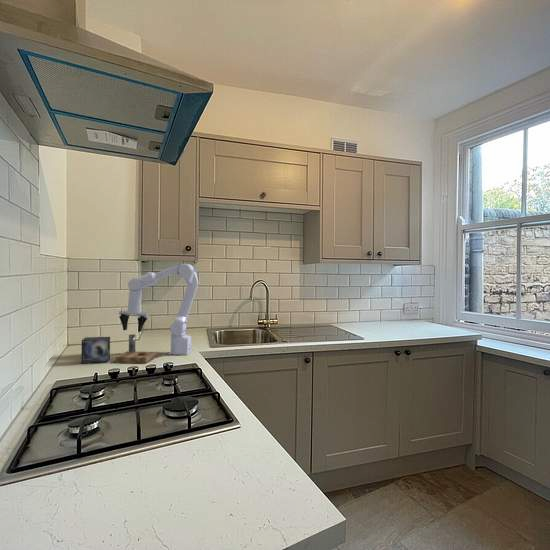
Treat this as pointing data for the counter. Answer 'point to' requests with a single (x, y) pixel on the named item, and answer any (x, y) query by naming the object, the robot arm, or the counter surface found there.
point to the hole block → (135, 357)
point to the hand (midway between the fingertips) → (132, 330)
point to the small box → (95, 350)
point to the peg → (132, 342)
